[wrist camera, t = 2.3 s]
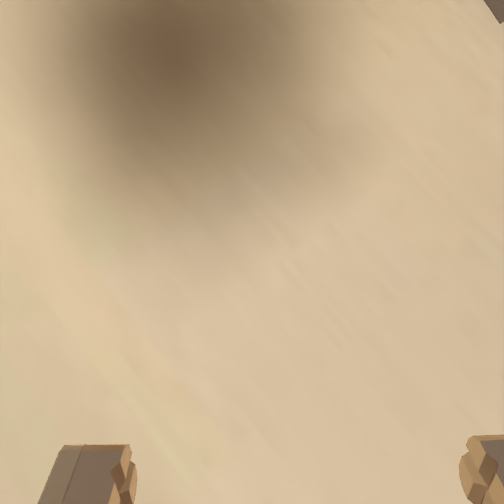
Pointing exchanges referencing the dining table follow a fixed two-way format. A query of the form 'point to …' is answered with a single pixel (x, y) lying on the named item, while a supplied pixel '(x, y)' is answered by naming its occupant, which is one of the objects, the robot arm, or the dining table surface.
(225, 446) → the dining table surface
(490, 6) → the stud finder
